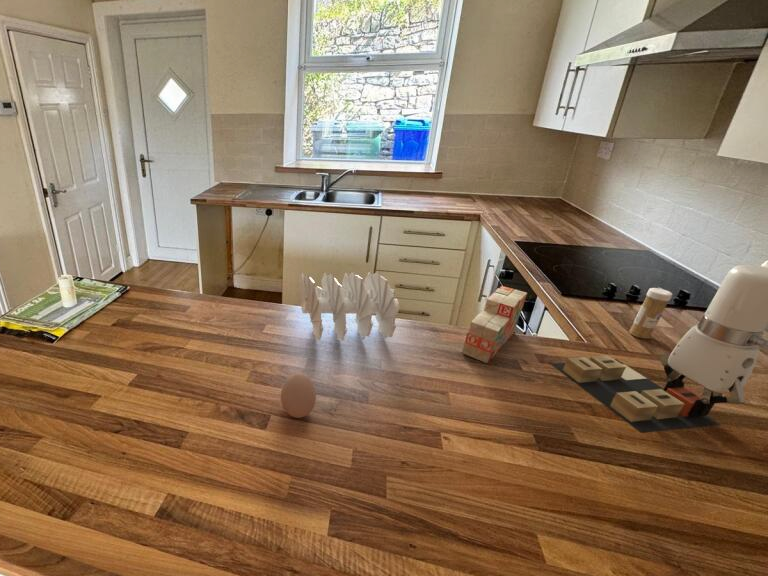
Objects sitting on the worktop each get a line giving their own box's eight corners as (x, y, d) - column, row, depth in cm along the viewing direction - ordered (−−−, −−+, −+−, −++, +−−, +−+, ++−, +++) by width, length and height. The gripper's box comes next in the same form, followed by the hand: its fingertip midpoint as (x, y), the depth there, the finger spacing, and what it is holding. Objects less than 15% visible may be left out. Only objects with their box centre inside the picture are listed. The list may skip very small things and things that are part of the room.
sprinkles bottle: (647, 341, 107) (670, 296, 101) (625, 333, 110) (647, 289, 104) (652, 336, 109) (675, 291, 103) (631, 328, 112) (652, 285, 107)
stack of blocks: (487, 364, 96) (502, 320, 91) (460, 353, 100) (473, 310, 95) (514, 332, 110) (528, 292, 104) (489, 323, 114) (502, 284, 108)
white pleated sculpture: (392, 353, 107) (301, 354, 104) (376, 300, 118) (292, 299, 115) (421, 313, 93) (316, 312, 90) (399, 258, 104) (305, 255, 101)
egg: (291, 398, 84) (293, 359, 80) (319, 411, 81) (324, 372, 77) (273, 416, 79) (275, 377, 75) (303, 432, 76) (307, 391, 72)
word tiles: (602, 367, 95) (608, 354, 93) (676, 417, 80) (685, 403, 78) (562, 370, 93) (567, 357, 92) (630, 421, 79) (638, 407, 77)
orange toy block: (678, 399, 85) (686, 386, 83) (702, 415, 81) (711, 401, 79) (659, 401, 84) (667, 387, 83) (683, 416, 80) (691, 402, 79)
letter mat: (615, 360, 98) (616, 358, 98) (719, 426, 79) (721, 424, 78) (549, 365, 96) (550, 363, 96) (639, 435, 76) (641, 432, 76)
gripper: (806, 355, 67) (747, 436, 75) (694, 308, 82) (655, 379, 90) (768, 358, 66) (713, 439, 74) (663, 310, 82) (626, 381, 89)
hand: (681, 405), depth 82 cm, fingers closed on orange toy block, 4 cm apart
